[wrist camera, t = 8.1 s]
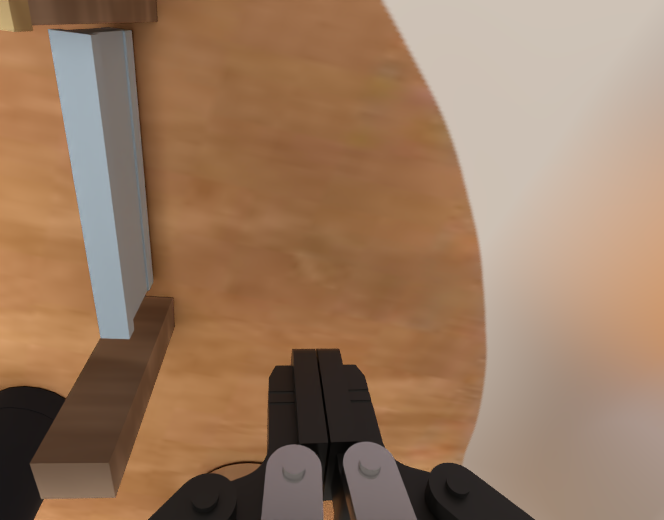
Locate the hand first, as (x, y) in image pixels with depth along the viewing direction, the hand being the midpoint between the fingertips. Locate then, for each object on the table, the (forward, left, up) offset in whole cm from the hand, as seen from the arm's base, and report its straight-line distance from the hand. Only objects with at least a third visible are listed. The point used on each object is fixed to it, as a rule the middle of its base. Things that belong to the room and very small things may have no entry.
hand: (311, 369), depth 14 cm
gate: (+1, +9, -13) cm, 16 cm away
